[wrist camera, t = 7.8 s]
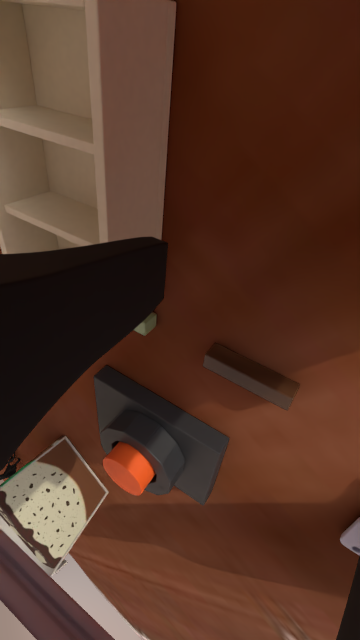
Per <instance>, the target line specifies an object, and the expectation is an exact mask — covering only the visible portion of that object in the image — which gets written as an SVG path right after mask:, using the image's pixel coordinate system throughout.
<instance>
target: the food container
mask: <svg viewBox="0 0 360 640" xmlns="http://www.w3.org/2000/svg"><path fill="white" fill-rule="evenodd" d="M108 493H109V492H108V491H107V489H106V488H105V487H104V485H103V484H102V483H101V481H100V480H99V479H98V478H97V476H96V475H95V474H94V472H93V471H92V470H91V468H90V467H89V466H88V464H87V463H86V462H85V460H84V459H83V458H82V457H81V455H80V454H79V453H78V451H77V450H76V449H75V447H74V446H73V445H72V443H71V442H70V441H69V440H68V438H67V437H66V436H62V437H60V438H59V439H58V440H57V441H55V442H54V443H53V444H52V445H50V446H49V447H48V448H47V449H45V450H44V451H43V452H41V453H40V454H39V455H38V456H36V457H35V458H34V459H33V460H31V461H30V462H29V463H28V464H26V465H25V466H24V467H22V468H21V469H20V470H19V471H17V472H16V473H15V474H14V475H12V476H11V477H10V478H8V479H7V480H6V481H5V482H3V483H2V484H1V485H0V529H1V530H2V531H3V532H5V533H6V534H7V535H8V536H9V537H10V538H11V539H12V540H13V541H14V542H15V543H16V544H17V545H18V546H19V547H20V548H21V549H22V550H23V551H24V552H25V553H26V554H27V555H28V556H29V557H30V558H31V559H32V560H33V561H34V562H35V563H36V564H37V565H38V566H40V567H41V568H42V569H43V570H44V571H45V572H46V573H47V574H48V575H49V576H50V577H51V576H52V575H53V574H54V573H57V572H58V571H59V570H60V569H62V567H64V566H65V565H66V564H67V563H68V562H67V561H66V560H64V558H65V557H66V555H67V554H68V552H69V551H70V549H71V548H72V546H73V545H74V543H75V542H76V540H77V539H78V537H79V536H80V534H81V533H82V531H83V530H84V528H85V527H86V525H87V524H88V522H89V521H90V519H91V518H92V517H93V515H94V514H95V512H96V511H97V509H98V508H99V506H100V505H101V503H102V502H103V500H104V499H105V497H106V496H107V494H108Z"/></svg>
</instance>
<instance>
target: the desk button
mask: <svg viewBox="0 0 360 640" xmlns="http://www.w3.org/2000/svg"><path fill="white" fill-rule="evenodd" d="M103 466H104V468H105V470H106V472H107V474H108V475H109V476H110V477H111V479H112V480H113V481H114V482H115V483H116V484H117V485H119V486H120V487H121V488H122V489H124V490H125V491H127V492H129V493H131V494H133V495H140V494H142V492H143V491H144V489H145V488H146V487H147V485H148V484H149V482H150V481H151V480H152V478H153V477H154V476H155V474H156V473H155V471H154V469H153V467H152V465H151V463H150V462H149V461H148V460H147V459H146V458H145V457H144V456H143V455H142V454H141V453H140V452H139V451H138V450H136V449H135V448H133V447H132V446H130V445H129V444H127V443H123V442H118V444H117V445H116V446H115V447H114V448H113V449H112V450H111V452H110V453H109V454H108V455H107V456H106V457H105V458H104V460H103Z"/></svg>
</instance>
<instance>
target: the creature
mask: <svg viewBox="0 0 360 640" xmlns="http://www.w3.org/2000/svg"><path fill="white" fill-rule="evenodd" d="M12 458H13V459H12ZM16 458H17V457H16ZM14 459H15V452H14V457H13V456H11V458H10V460H9V461H8V462H7V463H8V466H7V468H6V470H5V472H4V474H2V475H0V480H2V479H5V478H10V477H11V476H12V475H14V474H15V473H16V465H17V463H18V462H19V461H20V459H19V458H17V459H18V461H17V462H16V463H15V464H13V465H10V462H12V461H13V460H14ZM7 463H6V464H7ZM6 464H5V465H4V467H5V466H6ZM4 467H3V468H4ZM3 468H2V469H3ZM2 469H1V470H2ZM9 472H10V473H9Z"/></svg>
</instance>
